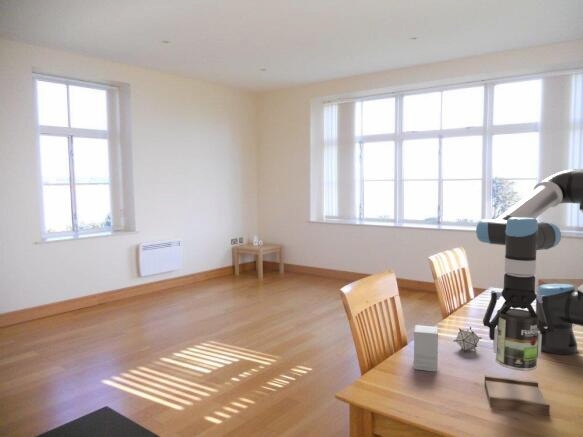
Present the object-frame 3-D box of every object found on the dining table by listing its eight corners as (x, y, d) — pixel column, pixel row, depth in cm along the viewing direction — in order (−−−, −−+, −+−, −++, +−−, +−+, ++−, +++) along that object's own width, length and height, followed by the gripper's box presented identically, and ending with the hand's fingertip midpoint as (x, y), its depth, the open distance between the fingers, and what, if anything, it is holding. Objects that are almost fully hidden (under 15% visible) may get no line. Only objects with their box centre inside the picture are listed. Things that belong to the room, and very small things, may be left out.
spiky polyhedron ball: (472, 361, 155) (485, 346, 149) (449, 352, 157) (461, 336, 150) (473, 342, 162) (485, 326, 156) (450, 333, 163) (462, 317, 157)
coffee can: (545, 367, 118) (548, 316, 116) (518, 373, 113) (521, 321, 112) (512, 353, 127) (514, 306, 126) (486, 359, 123) (488, 310, 122)
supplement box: (437, 363, 145) (438, 326, 144) (437, 372, 138) (438, 333, 137) (414, 360, 148) (415, 324, 146) (413, 369, 141) (413, 331, 140)
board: (537, 391, 126) (537, 381, 125) (549, 415, 112) (549, 405, 112) (484, 384, 130) (484, 375, 130) (490, 407, 117) (490, 397, 116)
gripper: (563, 274, 118) (559, 353, 120) (473, 268, 125) (470, 344, 127) (571, 279, 111) (566, 364, 113) (475, 274, 118) (473, 353, 120)
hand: (516, 353), depth 120 cm, fingers closed on coffee can, 10 cm apart
